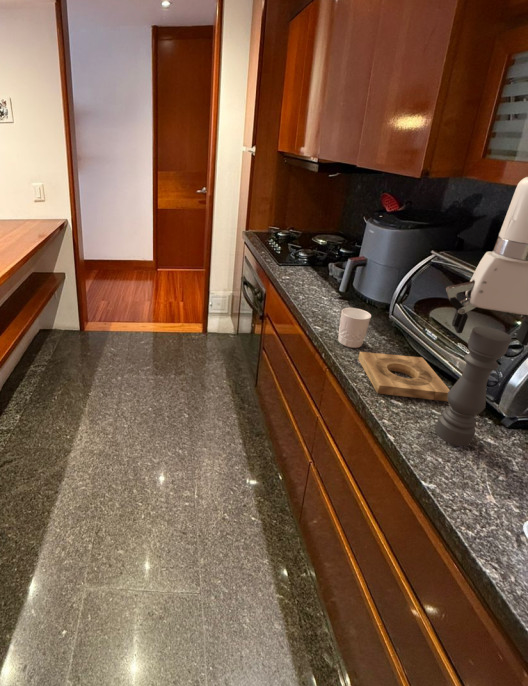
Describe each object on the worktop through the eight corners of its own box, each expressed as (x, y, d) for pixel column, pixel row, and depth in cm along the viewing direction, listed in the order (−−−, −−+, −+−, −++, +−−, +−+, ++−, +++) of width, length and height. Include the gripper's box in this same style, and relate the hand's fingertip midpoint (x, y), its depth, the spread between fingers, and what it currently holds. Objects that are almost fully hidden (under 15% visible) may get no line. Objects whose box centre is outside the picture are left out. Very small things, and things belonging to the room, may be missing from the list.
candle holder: (438, 421, 87) (473, 322, 77) (472, 435, 83) (514, 333, 73) (431, 435, 83) (468, 333, 73) (467, 451, 79) (511, 345, 69)
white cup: (340, 347, 116) (346, 318, 112) (332, 335, 123) (338, 306, 120) (368, 350, 115) (375, 320, 111) (359, 337, 122) (365, 308, 118)
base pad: (420, 365, 108) (422, 357, 107) (449, 401, 93) (452, 393, 92) (358, 358, 111) (359, 351, 110) (377, 393, 96) (379, 385, 95)
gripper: (579, 251, 67) (540, 337, 73) (457, 238, 74) (430, 318, 80) (603, 263, 60) (557, 357, 67) (466, 249, 68) (437, 334, 74)
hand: (488, 335), depth 74 cm, fingers open, 9 cm apart
